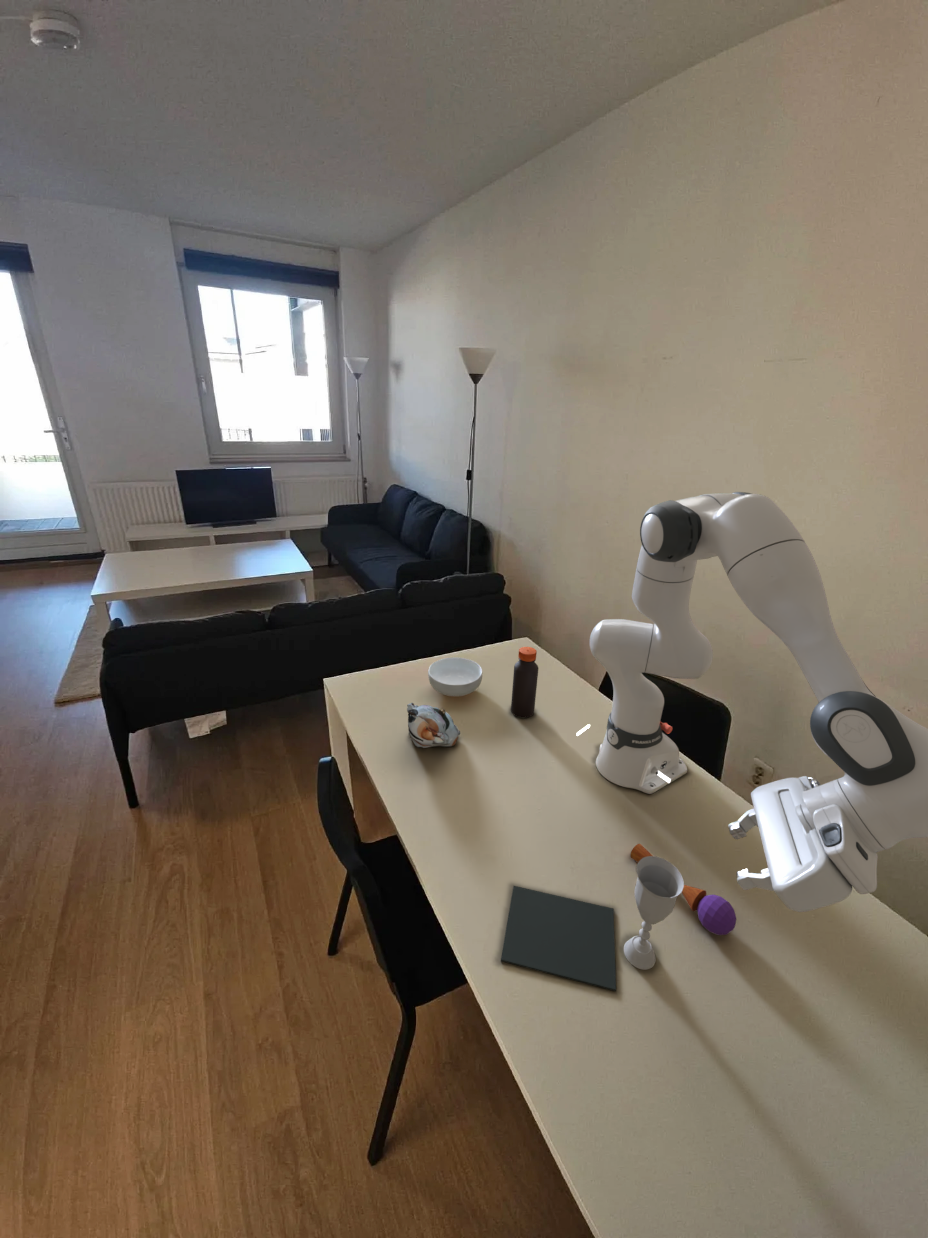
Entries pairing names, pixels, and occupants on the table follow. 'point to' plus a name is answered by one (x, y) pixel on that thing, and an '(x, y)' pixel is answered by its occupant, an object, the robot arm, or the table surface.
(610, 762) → the robot arm
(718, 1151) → the table surface
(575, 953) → the mat
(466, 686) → the cereal bowl
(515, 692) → the bottle
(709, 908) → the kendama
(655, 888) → the chalice
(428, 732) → the lucky cat figurine
